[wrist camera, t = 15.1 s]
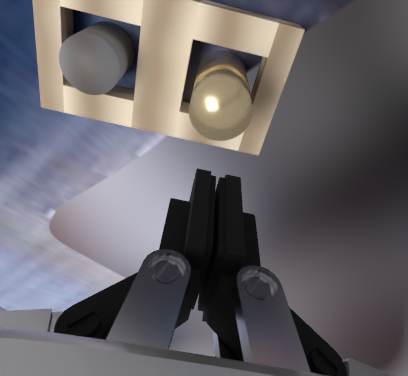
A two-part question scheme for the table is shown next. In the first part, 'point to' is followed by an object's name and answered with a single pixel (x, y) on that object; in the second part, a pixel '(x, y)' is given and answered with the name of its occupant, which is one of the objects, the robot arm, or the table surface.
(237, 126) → the gold metallic cylinder
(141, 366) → the robot arm
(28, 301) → the table surface
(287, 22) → the jig
